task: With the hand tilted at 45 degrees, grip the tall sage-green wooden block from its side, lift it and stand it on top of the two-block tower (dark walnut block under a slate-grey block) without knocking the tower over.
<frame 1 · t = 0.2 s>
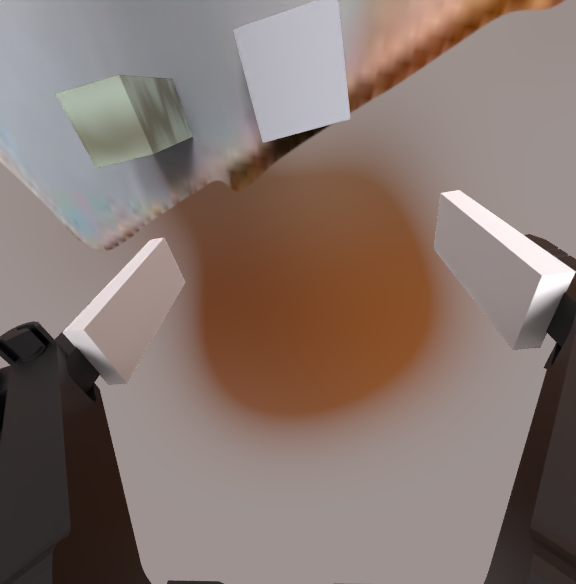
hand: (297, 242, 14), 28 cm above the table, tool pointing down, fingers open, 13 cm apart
sage block: (160, 115, 35), on the table
slate block: (295, 78, 30), point 4 cm above the table
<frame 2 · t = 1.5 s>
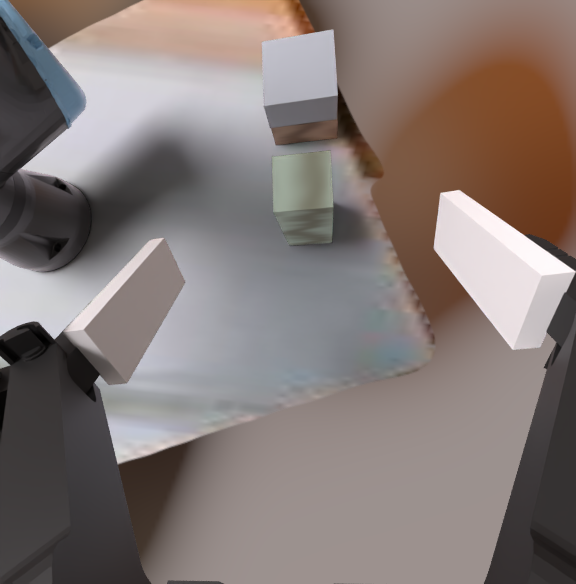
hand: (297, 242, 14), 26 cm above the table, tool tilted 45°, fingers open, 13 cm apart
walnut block: (305, 115, 43), on the table, touching slate block
sage block: (309, 223, 41), on the table
slate block: (301, 93, 39), point 4 cm above the table, touching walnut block
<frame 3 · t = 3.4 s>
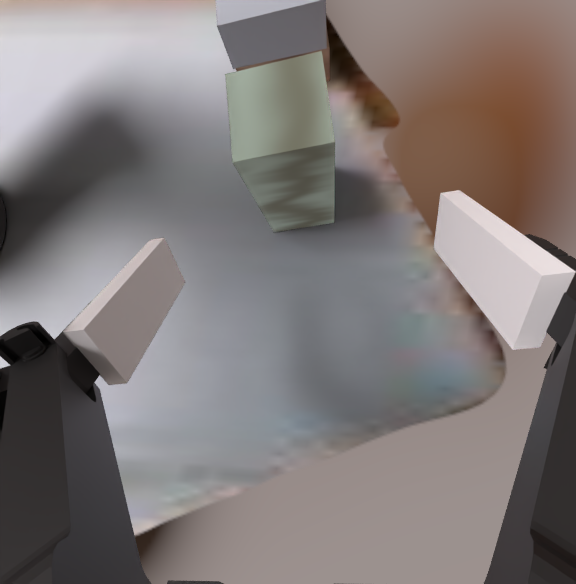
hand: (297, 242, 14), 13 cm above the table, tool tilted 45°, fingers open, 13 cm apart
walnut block: (284, 57, 32), on the table, touching slate block
sage block: (300, 199, 29), on the table
slate block: (275, 19, 28), point 4 cm above the table, touching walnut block
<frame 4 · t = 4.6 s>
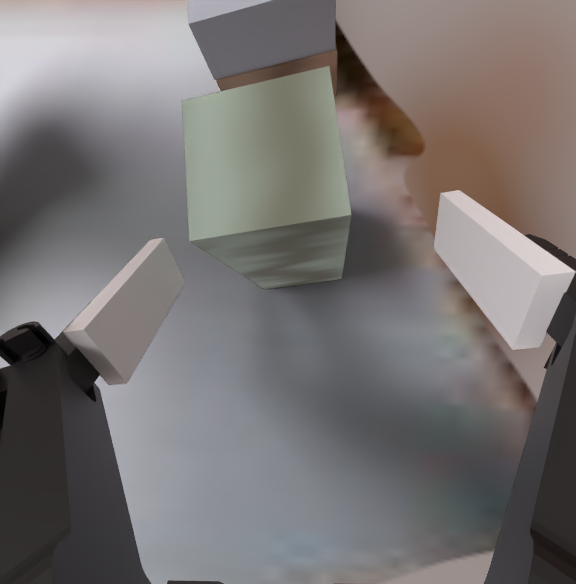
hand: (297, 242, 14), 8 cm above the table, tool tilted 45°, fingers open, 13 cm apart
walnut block: (279, 64, 26), on the table, touching slate block
sage block: (298, 246, 23), on the table
slate block: (266, 14, 22), point 4 cm above the table, touching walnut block
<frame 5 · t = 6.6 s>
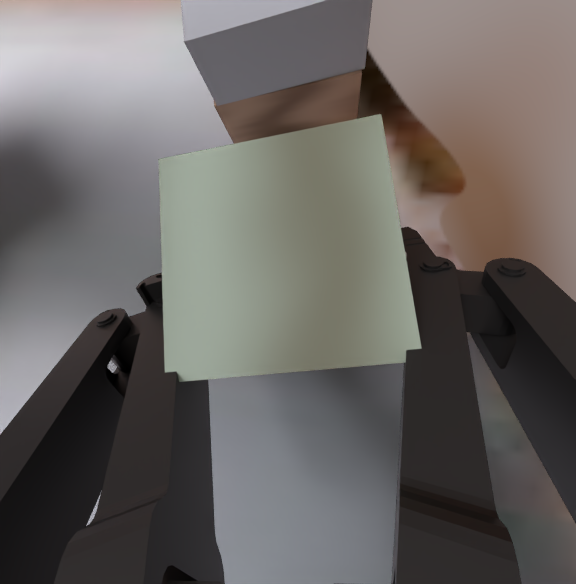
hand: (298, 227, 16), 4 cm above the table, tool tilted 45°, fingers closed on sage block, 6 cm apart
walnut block: (288, 82, 22), on the table, touching slate block
sage block: (311, 301, 19), on the table, touching gripper
slate block: (279, 26, 18), point 4 cm above the table, touching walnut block
when the fingers open (13 cm above the table, at t = 11.9 s): sage block drops 2 cm, resting on slate block.
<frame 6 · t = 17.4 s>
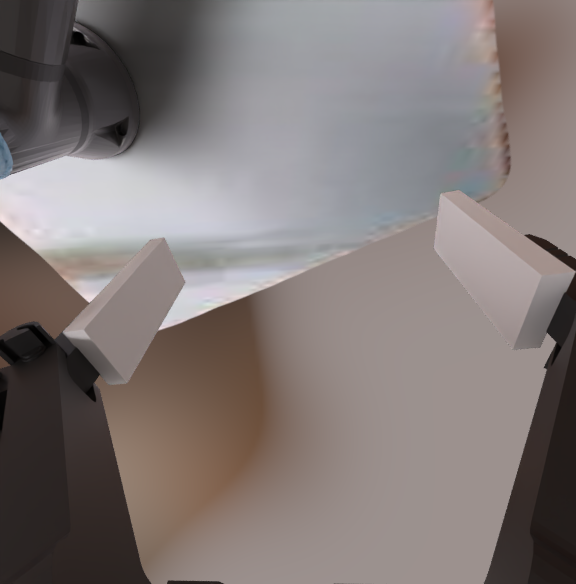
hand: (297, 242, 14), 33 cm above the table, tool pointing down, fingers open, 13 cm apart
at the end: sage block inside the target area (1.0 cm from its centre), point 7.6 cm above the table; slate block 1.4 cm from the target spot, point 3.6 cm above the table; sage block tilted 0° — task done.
